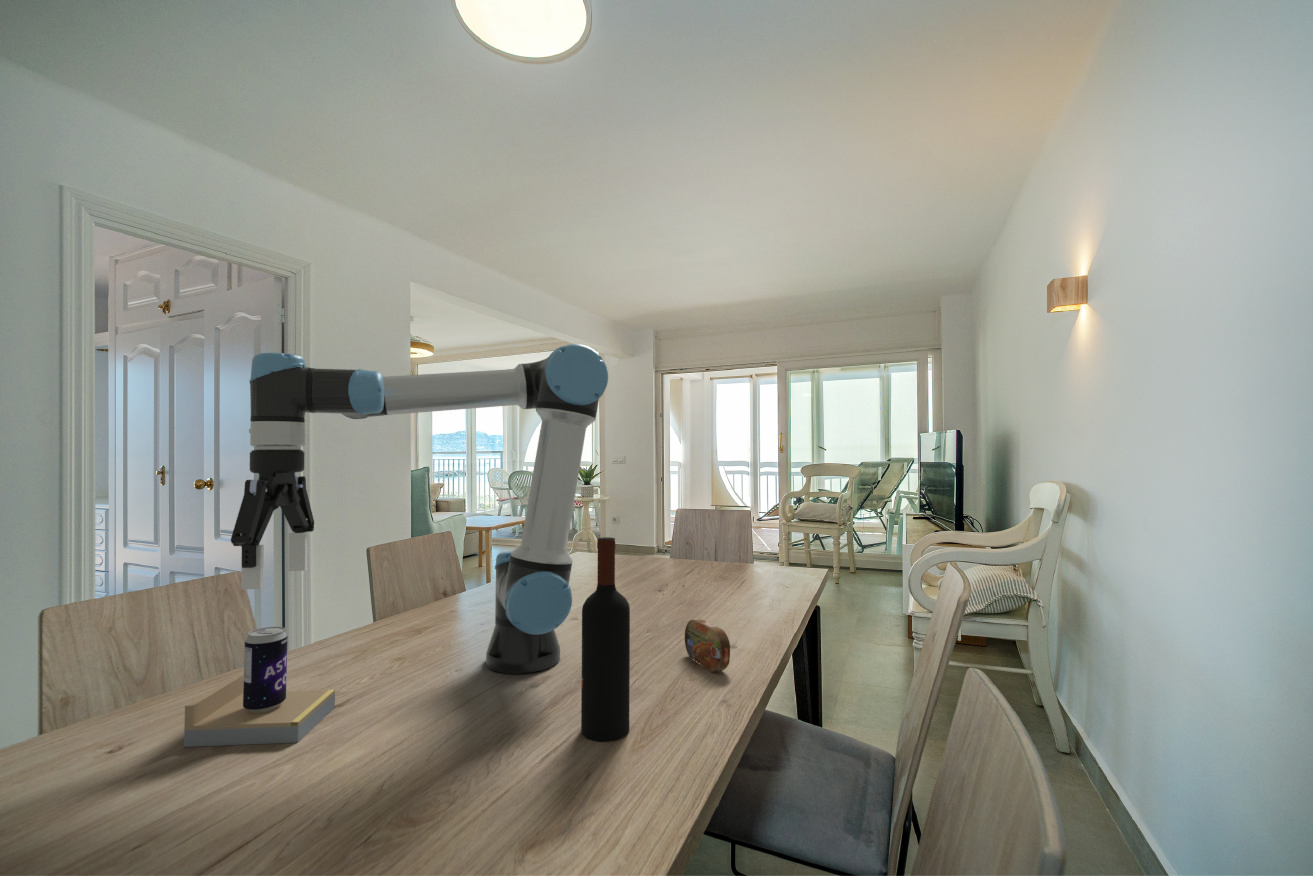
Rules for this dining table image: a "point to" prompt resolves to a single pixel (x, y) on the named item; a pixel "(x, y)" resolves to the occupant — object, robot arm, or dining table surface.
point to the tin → (707, 645)
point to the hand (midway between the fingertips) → (276, 579)
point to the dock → (252, 717)
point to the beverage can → (265, 669)
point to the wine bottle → (605, 654)
